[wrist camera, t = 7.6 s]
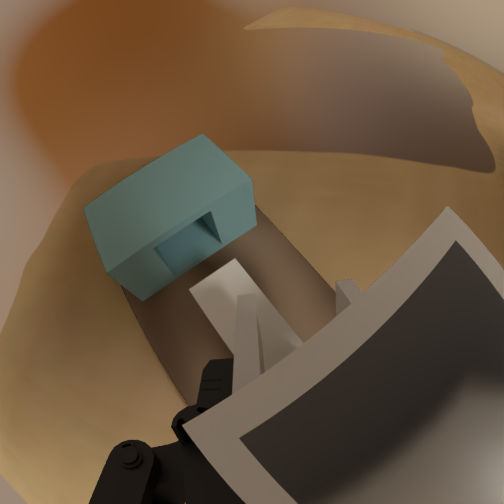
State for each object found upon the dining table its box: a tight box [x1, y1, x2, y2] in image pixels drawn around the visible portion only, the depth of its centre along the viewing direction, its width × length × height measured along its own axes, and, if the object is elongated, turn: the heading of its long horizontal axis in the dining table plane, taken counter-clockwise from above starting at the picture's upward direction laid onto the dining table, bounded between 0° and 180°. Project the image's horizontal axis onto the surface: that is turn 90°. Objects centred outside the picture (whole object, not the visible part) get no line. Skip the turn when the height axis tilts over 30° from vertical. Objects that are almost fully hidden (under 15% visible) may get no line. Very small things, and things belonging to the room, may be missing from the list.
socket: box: [83, 134, 257, 301], centre depth 19 cm, size 10×6×5 cm, turn 126°
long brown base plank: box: [120, 205, 336, 406], centre depth 14 cm, size 12×34×6 cm, turn 36°
